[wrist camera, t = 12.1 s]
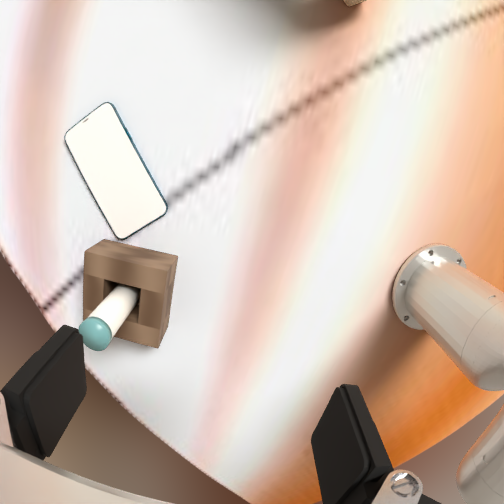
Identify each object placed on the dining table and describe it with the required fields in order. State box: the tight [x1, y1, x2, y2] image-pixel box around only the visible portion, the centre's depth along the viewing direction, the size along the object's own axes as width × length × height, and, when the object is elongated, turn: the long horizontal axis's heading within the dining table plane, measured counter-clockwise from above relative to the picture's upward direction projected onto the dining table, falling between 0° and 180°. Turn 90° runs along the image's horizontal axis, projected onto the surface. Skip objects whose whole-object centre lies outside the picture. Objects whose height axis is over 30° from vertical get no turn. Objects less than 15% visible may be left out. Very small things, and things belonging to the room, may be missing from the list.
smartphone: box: [65, 102, 168, 239], centre depth 35 cm, size 8×1×16 cm
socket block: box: [83, 239, 178, 348], centre depth 37 cm, size 10×10×6 cm
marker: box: [79, 283, 141, 351], centre depth 33 cm, size 3×3×12 cm
